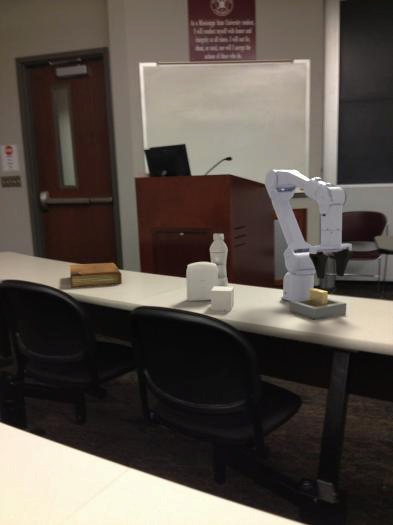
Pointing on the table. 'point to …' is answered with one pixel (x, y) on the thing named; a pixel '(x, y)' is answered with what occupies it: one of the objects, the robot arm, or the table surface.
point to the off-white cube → (222, 298)
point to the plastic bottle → (219, 258)
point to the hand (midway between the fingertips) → (330, 277)
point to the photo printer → (201, 280)
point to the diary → (94, 275)
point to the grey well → (317, 309)
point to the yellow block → (318, 297)
